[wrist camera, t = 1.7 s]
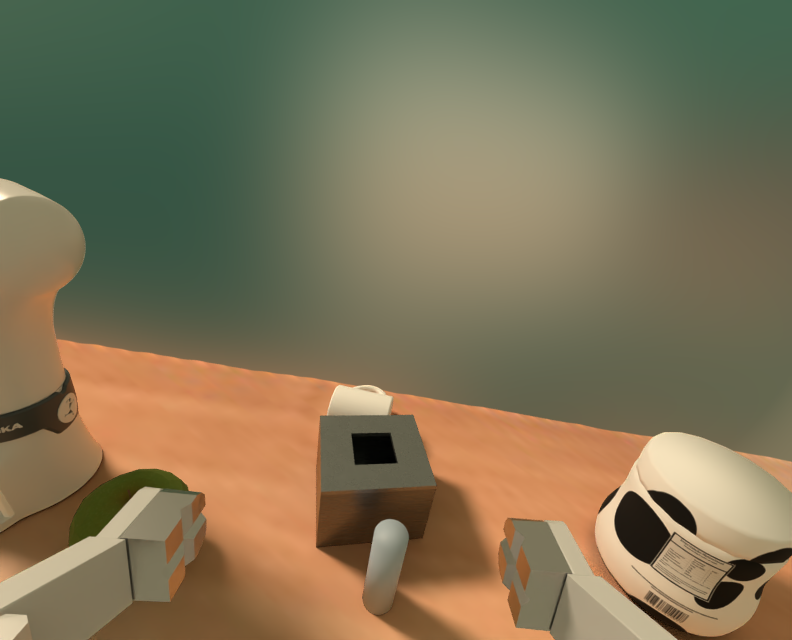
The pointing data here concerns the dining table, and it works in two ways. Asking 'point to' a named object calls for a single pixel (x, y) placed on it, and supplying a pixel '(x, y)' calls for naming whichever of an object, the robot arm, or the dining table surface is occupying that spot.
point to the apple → (116, 500)
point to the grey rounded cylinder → (384, 566)
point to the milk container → (695, 533)
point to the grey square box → (370, 477)
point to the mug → (359, 401)
